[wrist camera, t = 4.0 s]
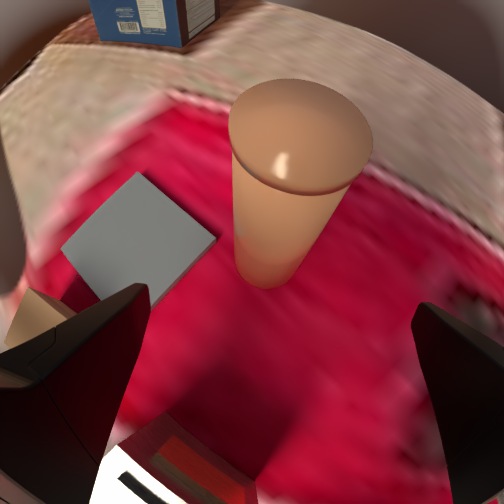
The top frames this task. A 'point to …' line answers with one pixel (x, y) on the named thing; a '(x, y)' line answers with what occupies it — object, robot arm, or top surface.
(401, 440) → the top surface
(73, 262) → the pad
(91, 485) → the robot arm
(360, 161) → the canister
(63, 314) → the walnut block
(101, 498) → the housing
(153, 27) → the protein box
